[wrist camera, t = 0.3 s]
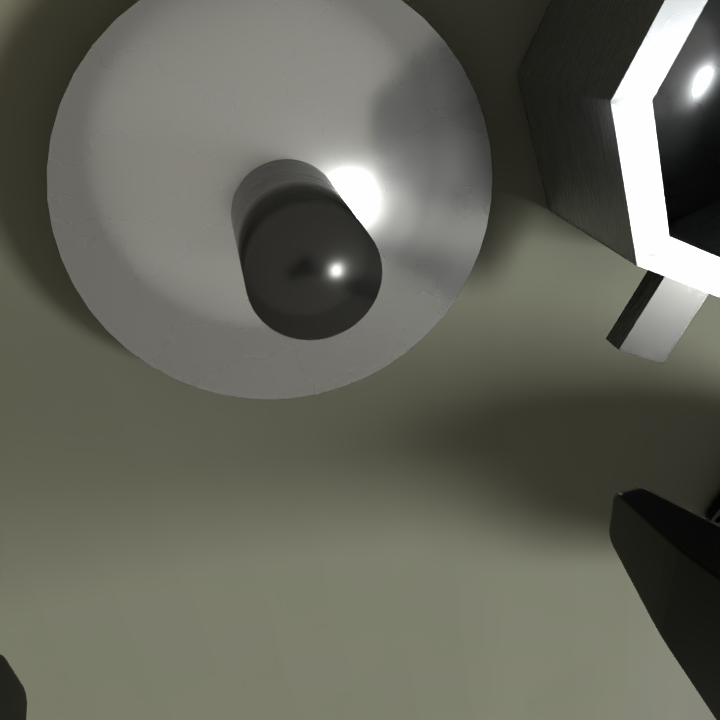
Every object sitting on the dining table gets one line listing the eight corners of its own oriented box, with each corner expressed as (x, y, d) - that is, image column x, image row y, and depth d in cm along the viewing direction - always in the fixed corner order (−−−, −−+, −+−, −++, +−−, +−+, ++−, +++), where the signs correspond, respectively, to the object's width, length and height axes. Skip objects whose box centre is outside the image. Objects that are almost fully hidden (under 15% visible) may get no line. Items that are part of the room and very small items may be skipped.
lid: (533, 71, 20) (670, 108, 14) (377, 399, 24) (434, 522, 19) (116, -138, 15) (81, -200, 10) (22, 316, 20) (-38, 448, 14)
